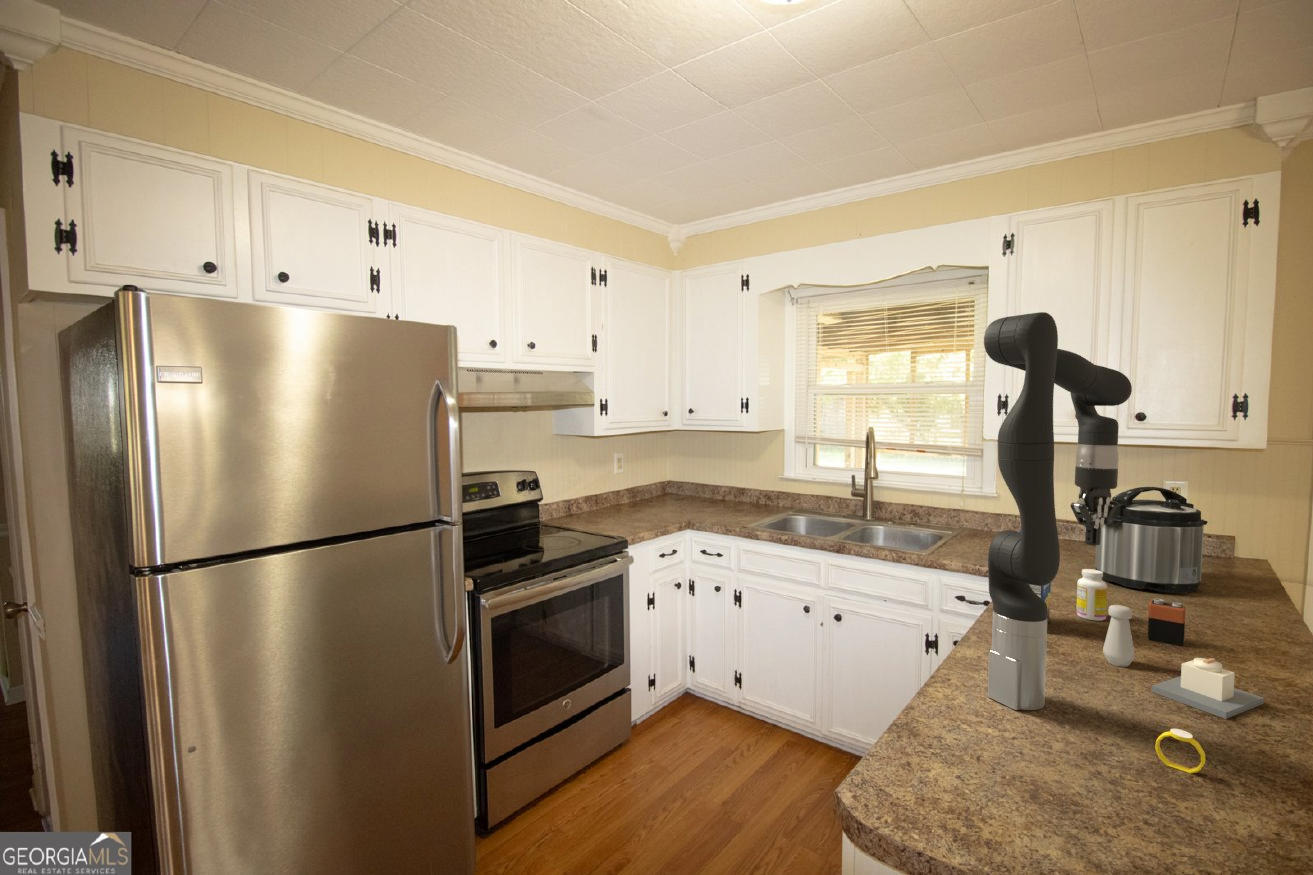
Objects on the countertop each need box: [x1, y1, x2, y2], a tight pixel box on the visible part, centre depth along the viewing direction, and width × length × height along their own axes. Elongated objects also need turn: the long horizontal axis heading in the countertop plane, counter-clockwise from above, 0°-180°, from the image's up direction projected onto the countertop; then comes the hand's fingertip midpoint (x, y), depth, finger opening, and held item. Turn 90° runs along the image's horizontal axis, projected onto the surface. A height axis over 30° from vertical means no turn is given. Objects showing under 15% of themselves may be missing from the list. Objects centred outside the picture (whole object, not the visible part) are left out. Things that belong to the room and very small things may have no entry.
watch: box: [1154, 728, 1206, 775], centre depth 98 cm, size 6×3×6 cm, turn 41°
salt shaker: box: [1102, 604, 1136, 668], centre depth 137 cm, size 6×6×13 cm
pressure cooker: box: [1094, 486, 1209, 594], centre depth 199 cm, size 30×28×32 cm
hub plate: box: [1150, 675, 1265, 720], centre depth 121 cm, size 14×12×5 cm
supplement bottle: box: [1076, 568, 1108, 622], centre depth 167 cm, size 7×7×13 cm
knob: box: [1180, 657, 1236, 701], centre depth 121 cm, size 4×7×6 cm
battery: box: [1147, 597, 1187, 647], centre depth 150 cm, size 4×7×10 cm, turn 48°
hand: (1092, 544), depth 133 cm, fingers closed
